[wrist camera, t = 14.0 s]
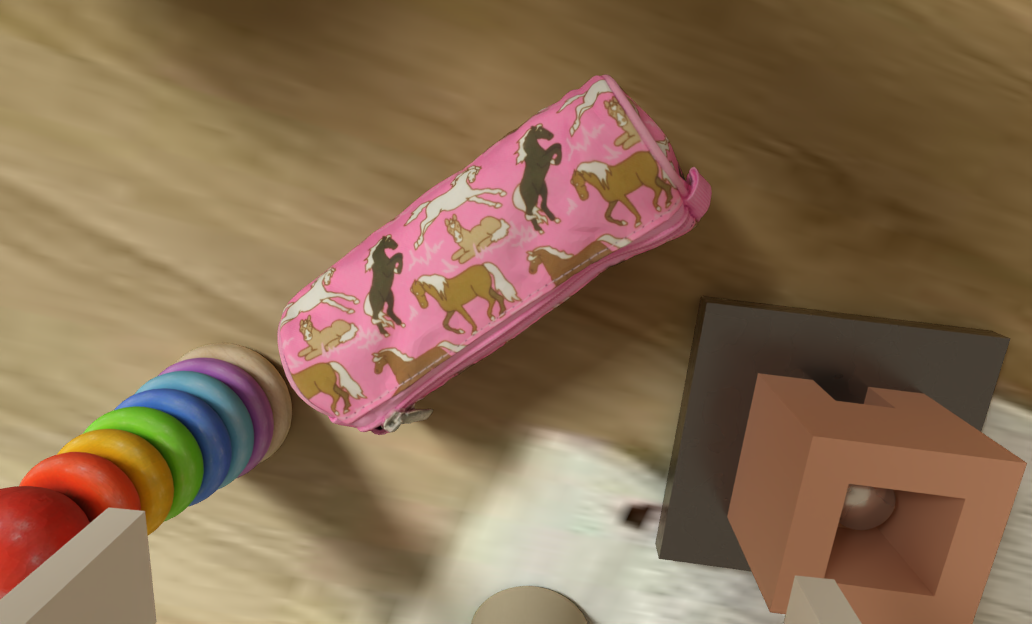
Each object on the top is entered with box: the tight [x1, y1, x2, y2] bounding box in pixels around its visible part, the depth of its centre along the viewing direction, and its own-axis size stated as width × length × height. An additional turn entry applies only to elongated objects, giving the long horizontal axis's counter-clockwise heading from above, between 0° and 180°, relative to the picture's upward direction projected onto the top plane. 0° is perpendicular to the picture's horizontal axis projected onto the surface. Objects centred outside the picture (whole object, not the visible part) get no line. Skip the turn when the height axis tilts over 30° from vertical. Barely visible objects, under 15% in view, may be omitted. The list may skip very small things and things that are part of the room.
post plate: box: [655, 296, 1010, 571], centre depth 34 cm, size 16×16×6 cm
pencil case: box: [278, 75, 712, 435], centre depth 32 cm, size 21×9×9 cm, turn 127°
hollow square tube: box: [727, 373, 1027, 624], centre depth 32 cm, size 9×9×8 cm
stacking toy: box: [0, 343, 292, 599], centre depth 31 cm, size 8×8×19 cm
